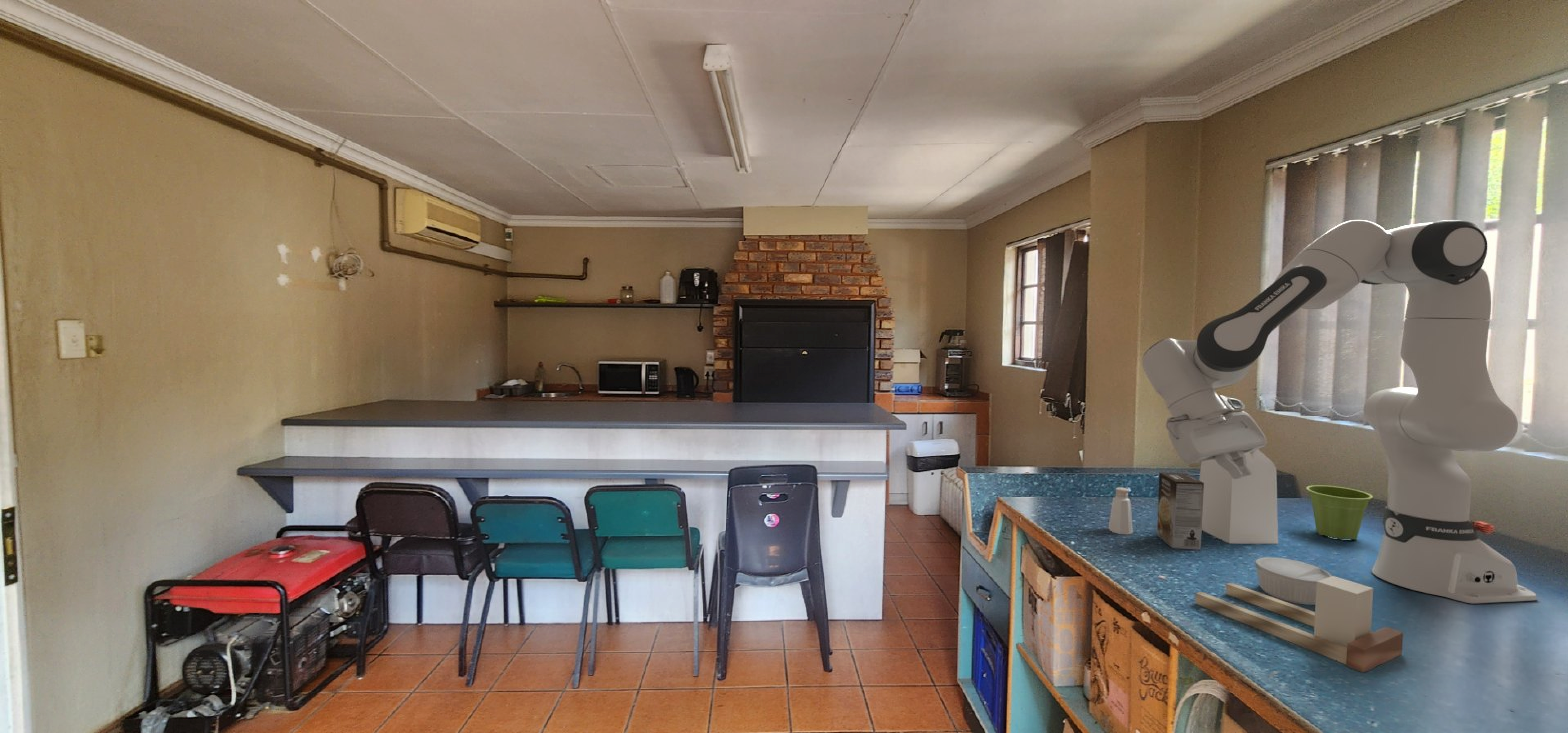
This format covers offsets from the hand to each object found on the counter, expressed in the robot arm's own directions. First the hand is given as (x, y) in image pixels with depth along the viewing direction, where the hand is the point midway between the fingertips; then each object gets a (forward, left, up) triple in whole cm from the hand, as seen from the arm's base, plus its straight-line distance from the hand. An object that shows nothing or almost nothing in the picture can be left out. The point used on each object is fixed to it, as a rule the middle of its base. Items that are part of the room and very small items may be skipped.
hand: (1243, 477), depth 109 cm
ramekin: (-11, -2, -24) cm, 26 cm away
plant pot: (-46, -37, -23) cm, 64 cm away
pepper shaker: (+5, -36, -23) cm, 44 cm away
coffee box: (-5, -29, -23) cm, 38 cm away
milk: (-22, -36, -23) cm, 49 cm away
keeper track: (-1, +11, -23) cm, 26 cm away
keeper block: (-5, +17, -23) cm, 29 cm away
